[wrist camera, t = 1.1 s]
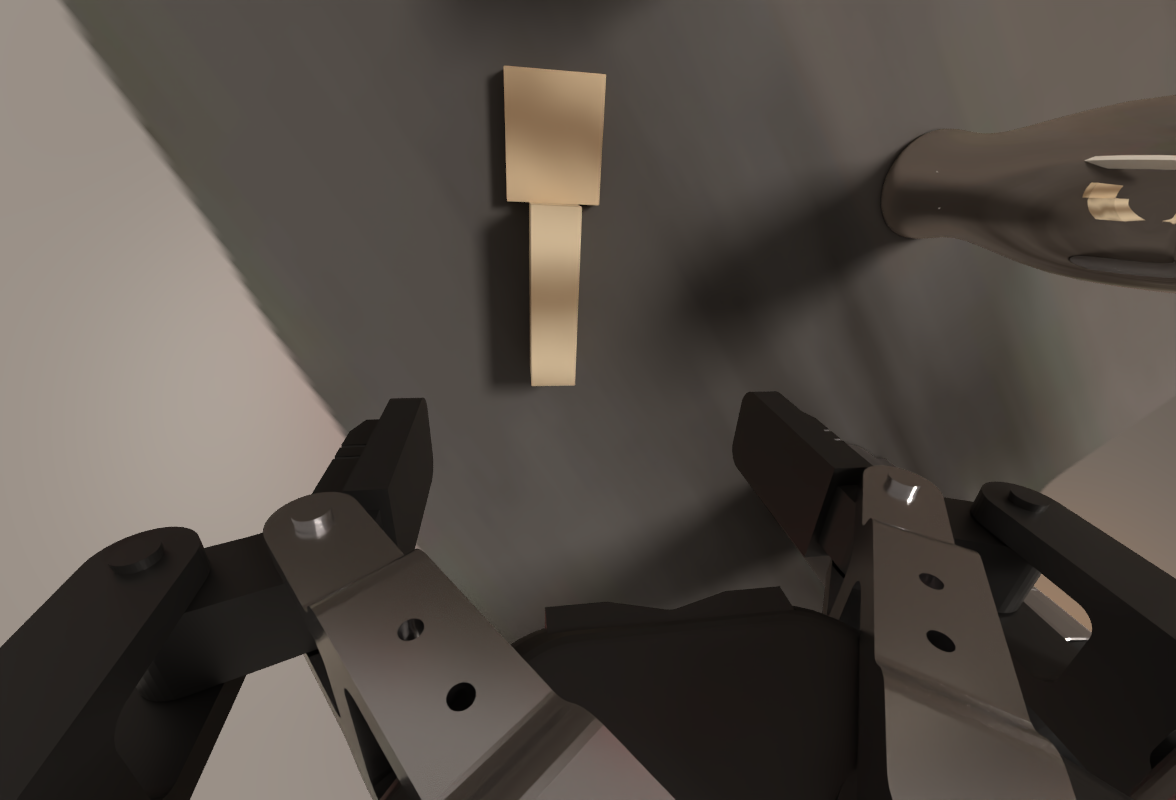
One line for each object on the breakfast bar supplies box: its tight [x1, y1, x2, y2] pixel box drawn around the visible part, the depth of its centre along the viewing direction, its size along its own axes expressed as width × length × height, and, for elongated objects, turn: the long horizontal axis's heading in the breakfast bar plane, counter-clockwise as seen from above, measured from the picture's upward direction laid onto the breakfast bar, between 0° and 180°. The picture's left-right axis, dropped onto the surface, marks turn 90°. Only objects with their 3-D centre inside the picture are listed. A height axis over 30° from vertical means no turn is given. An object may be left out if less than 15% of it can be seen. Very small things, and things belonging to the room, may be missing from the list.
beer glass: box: [881, 95, 1176, 294], centre depth 22 cm, size 7×7×15 cm
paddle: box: [504, 66, 606, 386], centre depth 26 cm, size 16×5×3 cm, turn 177°
